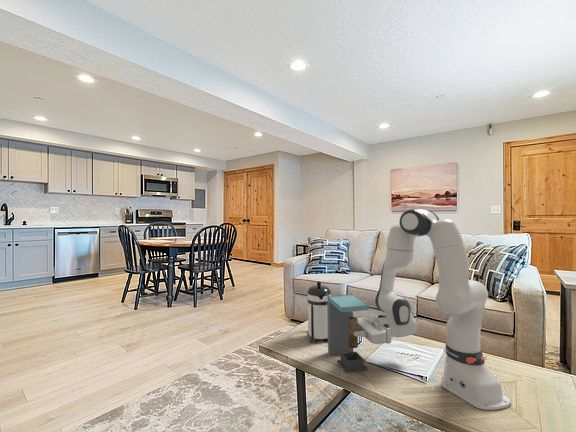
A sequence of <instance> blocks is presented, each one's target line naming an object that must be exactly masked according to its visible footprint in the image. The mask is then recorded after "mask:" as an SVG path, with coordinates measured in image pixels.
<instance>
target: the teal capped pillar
mask: <svg viewBox="0 0 576 432" xmlns="http://www.w3.org/2000/svg"><path fill="white" fill-rule="evenodd" d="M327 305H328V340H327V353H328V354H329V355H336V354H337V355H338V354H340V353H348V352H354V348H350V347H349V341H348V318H349V317H354V312H363V311H369V309H370V308H369V304H367V303H366V302H364V301H363V300H361V299H359V298H358V297H356V296H354V295H353V294H352V293H350V294H336V295H335V294H333V295H331V296H327Z"/></svg>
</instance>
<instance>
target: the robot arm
mask: <svg viewBox="0 0 576 432" xmlns="http://www.w3.org/2000/svg"><path fill="white" fill-rule="evenodd" d="M399 217H400V218H399V224H394V225H392V226H391V227H390V229H389V232H388V237H387V244H386V255H385V259H384V261H383V265H382V267H381V274H380V275H381V276H380V282H379V288H378V291H377V293H376V296H375V300H374V301H375V305H376V308H377V309H378V310H379V311H380V312H383V313H385V314H386V315H387V317H383V318H378V317H376V318H373V320H370V318H366V317H357V318H358V331H353V335H354V336H358V337H360V338H365V339H366V340H368V341H369V342H370V343H371V344H374V345H381V344H392V338H404V337H409V336H411V335H413V334H415V333H416V331H417V329H418V328H417V327H418V325H417V320H416V319H415V317H413V314H412V312H411V309H412V307H411V304H410V302H409V301H408V300H407V299H406V298H404V297H402V296H399V295H397V294H396V293H395V292H394V287H395V280H396V275H397V273H398V272H399V271H401V270H405V269H407V268H408V267H409V266H410V265H411V264H412V263H413V259H414V245H415V244H414V242H415V240H416V238H417V237H420V238H421V237H424V236H426V237H428V238H429V240H430V242H431V245H432V249H433V252H434V253H433V254H434V256H435V260H436V264H437V269H438V290H437V293H436V296H435V301H436V305H437V307H438V308H439V309H440V310H441V311H442V312H443V313H445V314H447V315H450V316H449V318H448V320H447V322H446V343H445V347H444V348H445V354H446V358H445V361H444V366H443V367H444V368H443V374H442V381H441V384H440V386H441V387H442V388H444V389H445V390H447V391H449V392H450V393H452V394H454V395H455V396H457V397H459V398H460V399H461V400H463V401H465V402H467V403H468V404H470V405H471V406H473V407H475V408H477V409H480V410H484V411H485V410H486V411H495V410H502V409H506V408H508V407H510V405H511V404H512V401H511V399H510V398H509V397H508V396H507V395H505V394H504V393H503V388H502V387H503V386H502V384H501V381H500V380H499V379H498V376H497V375H496V374H494V373H493V372H492V369H490V368H489V366H488V365H487V364H486V361H485V360H488V356H485V355H484V354H483V351H482V348H481V327H482V321H483V317H484V312H485V307H486V303H487V300H488V298H489V291H488V289H487V287H486V286H485V285H484V284H483V283H482V282H480V281H477V280H473V279H469V270H470V269H469V268H470V266H471V263H470V259H469V255H468V252H467V249H466V245H465V243H464V240H463V237H462V235H461V233H460V230H459V228H458V227H457V225H456V222H454V221H453V220H451V219H446V218H444V219H440V218H439V217H438V215H437V214H436V213H434V212H433V211H431V210H426V209H424V208H423V209H422V208H410V209H408V210H406V211H404V212H403V213H401V215H400V216H399Z"/></svg>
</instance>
